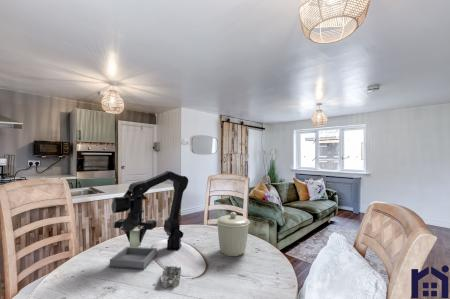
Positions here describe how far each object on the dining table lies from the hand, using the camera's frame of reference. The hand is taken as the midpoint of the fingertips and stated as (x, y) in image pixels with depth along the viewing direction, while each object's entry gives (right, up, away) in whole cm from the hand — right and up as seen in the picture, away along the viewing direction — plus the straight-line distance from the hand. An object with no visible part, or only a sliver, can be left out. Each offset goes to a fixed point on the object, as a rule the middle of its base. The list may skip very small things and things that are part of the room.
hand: (135, 242), depth 104 cm
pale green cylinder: (0, -2, 0) cm, 2 cm away
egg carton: (+21, -10, -15) cm, 28 cm away
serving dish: (0, -9, 0) cm, 9 cm away
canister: (+47, -10, +11) cm, 49 cm away
